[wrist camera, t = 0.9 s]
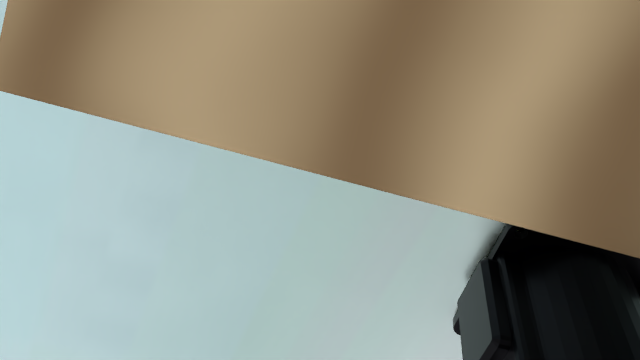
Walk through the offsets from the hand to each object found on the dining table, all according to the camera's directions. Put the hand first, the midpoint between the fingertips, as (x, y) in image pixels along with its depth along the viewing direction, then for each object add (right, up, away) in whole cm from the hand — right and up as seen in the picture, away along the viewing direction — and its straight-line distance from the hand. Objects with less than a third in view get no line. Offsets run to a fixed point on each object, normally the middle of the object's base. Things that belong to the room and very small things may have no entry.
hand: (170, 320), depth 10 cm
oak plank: (+5, +6, +6) cm, 10 cm away
